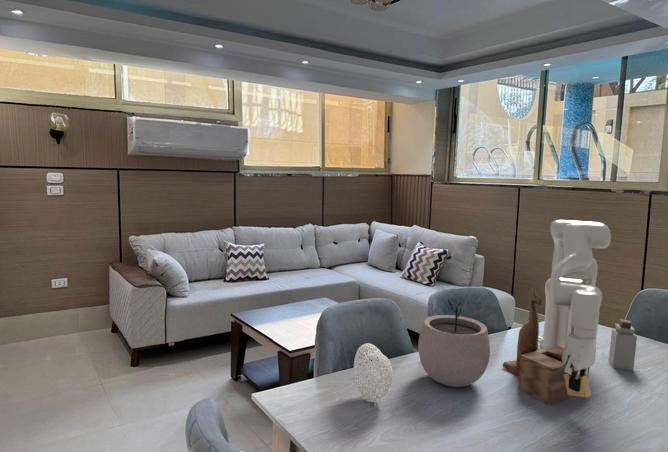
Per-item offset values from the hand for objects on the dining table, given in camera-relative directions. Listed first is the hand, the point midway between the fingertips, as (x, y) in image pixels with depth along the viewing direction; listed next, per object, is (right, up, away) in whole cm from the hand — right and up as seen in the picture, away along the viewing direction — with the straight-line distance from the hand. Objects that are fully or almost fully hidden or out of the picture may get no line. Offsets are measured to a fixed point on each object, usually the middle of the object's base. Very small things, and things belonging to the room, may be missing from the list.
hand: (576, 388), depth 137 cm
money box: (0, -6, +16) cm, 17 cm away
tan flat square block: (0, -2, -1) cm, 2 cm away
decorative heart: (-62, -6, +4) cm, 63 cm away
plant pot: (-33, -5, +20) cm, 39 cm away
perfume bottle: (+38, -5, +38) cm, 54 cm away
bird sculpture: (-3, -5, +30) cm, 30 cm away
